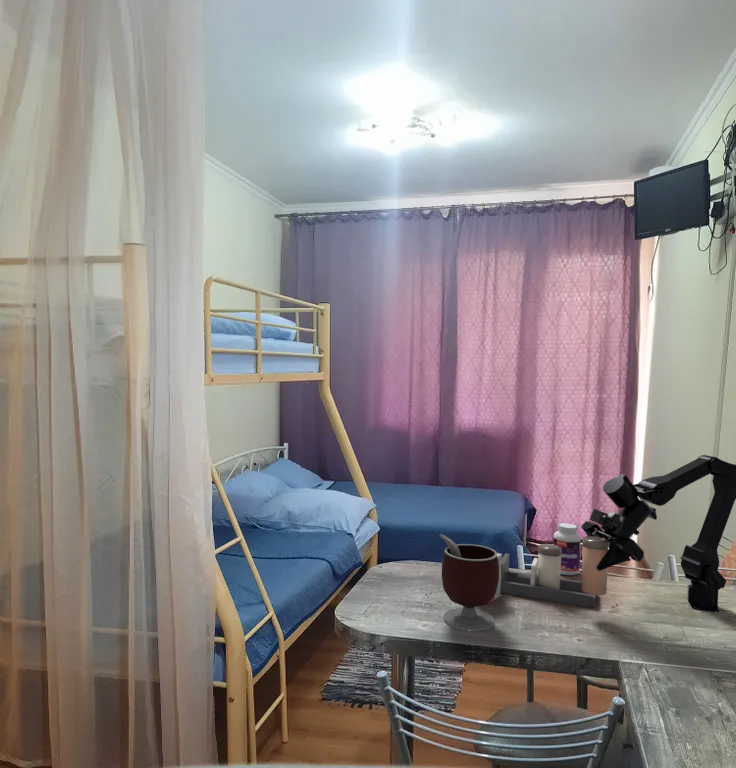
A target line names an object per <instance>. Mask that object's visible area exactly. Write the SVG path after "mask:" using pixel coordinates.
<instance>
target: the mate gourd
mask: <svg viewBox="0 0 736 768" xmlns="http://www.w3.org/2000/svg"><path fill="white" fill-rule="evenodd" d="M439 538H441V539H442V540H444V542H445V543H446V545H447V547H445V548H444V553H443V555H442V556H443V557H442V560H441V561H442V563H441V581H442V587H443V591H444V593H445V594H446V595H447V597H448V599H449V600H450V601H451V602H453V603H455V604H457V605H459V606H461V607H456V608H452V609H449V610H447V611H446V612H444V614H443V621H444V623H446V625H448V626H449V627H451V628H453V629H456V628H457V630H459V629H463V630H462V631H464V630H471V631H470V632H482V631H481V630H484V631H486V630H485V629H487V630H489V628H490V629H491V628H493V626H494V625H495V619H494V616H493V615H491V614H490V613H489V612H486V611H484V610H482V609H481V610H480V609H476V608H477V607H482V606H485V605H487V604H488V603H489V602H490V601H491V599H492V598H493V597H494V596H495V594H496V591H497V587H498V581H499V564H498V558H497V553H498V551H496V550H495V549H493V548H491V547H487V546H484V545H479V544H473V543H471V544H470V543H460V544H459V543H458V544H456V542H454V541H453V540H452V539H450V538H449V537H447V536H446V535H443V533H440V534H439ZM479 630H480V631H479Z"/></svg>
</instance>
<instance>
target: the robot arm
mask: <svg viewBox="0 0 736 768" xmlns="http://www.w3.org/2000/svg"><path fill="white" fill-rule="evenodd" d="M708 475H711V476H713V477H712V485H713V486H712V487H713V490H714V491H713V492H714V494H713V496H712V499H711V502H710V504H709V508H708V511H707V513H706V515H705V518H704V520H703V523H702V526H701V529H700V532H699V535H698V538H697V540H696V542H695V543H694V544H692V545H691V546H690V545H688V544H687V545H685V546H684V549H683V552H682V555H681V556H680V560H681V561H680V567H681V568H682V571H683V574H684V577H685V578H686V579H687V580H690V584H688V585H687V598H686V599H687V602H688V604H689V607H690V608H691V609H692V608H693V609H697V610H703V611H704V610H705V611H711V612H717V613H719V612H720V609H719V607H718V606H719V591H720V590H721V589H725V587H726V583H727V579H726V578H725V576H723V574H721V573H720V571H719V567H720V566H719V565H720V558H719V554H718V547H719V546H720V542H721V540H722V537H723V535H724V531H725V529H726V526H727V523H728V520H729V518H730V515H731V512H732V510H733V507H734V505H735V503H736V502H735V501H736V464H735V463H731V462H730V463H729V462H727V461H724V460H722V459H720V458H718V457H717V456H713V455H706V454H703V455H699V456H698V457H697V458H696V459H694V460H692V461H690V462H688V463H687V464H684V465H683V466H681V467H678V468H677V469H675V470H672V471H669V473H666V474H664V475H659V476H651V477H648V478H644V479H642V480H641V481H639V482H638V483H634V484H633V483H632V482H631V480H630V479H629V477H628V476H627V475H626V474H622V473H620V474H618V476H615V477H612V478H610V479H609V480H607V481H605V483H604V485H603V487H602V491H603V493H604V494H606V496H607V497H608V498H609V499H610V500H611V502H612V503H613V504H614V505H615V506H616V507H617V508H620V509H621V510H620V511H619V513H616V512H614V511H610V512H609V513H606V512H604V511H602V510H598V509H596V508H593V511H592V513H591V515H590V517H589V519H588V521H586V520H585V521H584V523H583V524H582V525H581V526H580V528H581V529H582V530H583V531H584V532H585V534H586V535H587V536H586V537H588V536H594V537H601V538H604V539H607V540H608V541H609V548H608V552H607V553H606V554H605V556H604V557H603V558H602V560H601V561H600V562H599V564H598V566H597V567H596V568H597V569H598V570H599V571H601V570H603V569H606V568H610V567H613V566H616V565H619V564H622V563H624V562H631V560H632V561H634V562H636V563H640V562H641V561H642V560H643V559H644V558H645V552H644V550H643V549H642V548H641V547H640V545H639V544H637V542H636V540H634V539H632V538H631V537H632V536H633V535H635V536H638V535H639V534H640V531H639V530H638V529H639V528H640V527H641V526H642V524H643V523H644V522H645V521H646V520H647V519H648V518H649V519H653V520H658V519H657V518H658V515H657V509H656V508H654V507H651V506H650V505H649V504H652V505H656V506H660V507H661V506H664V505H666V504H668V503H669V502H670V501H671V500H672V499H674V498H675V497H676V494H677V492H678V491H680V490H682V489H683V488H686V487H687V486H689V485H691V484H693V483H695V482H697V481H699V480H701V479H702V478H705V477H706V476H708ZM648 503H649V504H648ZM580 561H582V558H580Z"/></svg>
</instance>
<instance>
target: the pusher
mask: <svg viewBox="0 0 736 768" xmlns="http://www.w3.org/2000/svg"><path fill="white" fill-rule="evenodd" d="M516 572H517V577H521V578H528V579H531V583H530V585H533V586H537V575H538V558H537V557H534V558H533V560H532V563H531V565H530V571H525V570H517V571H516Z"/></svg>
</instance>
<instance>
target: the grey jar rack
mask: <svg viewBox="0 0 736 768" xmlns="http://www.w3.org/2000/svg"><path fill="white" fill-rule="evenodd" d="M517 572H518V571H513V570H510V553H504V555H502V559H501V585H500V594H507V595H513V596H517V597H523V598H524V597H525V598H532V599H537V600H543V601H550V602H556V603H561V604H567V605H568V604H569V605H575V606H580V607H581V606H582V607H587V608H592V607H593V609H594V608H596V598H597V595H592V594H588V593H585V592H583V591H582V589H581V588H582V580H580V581H579V580H573V579H566V578H561V577H560V590H559V589H553V588H546V587H540V586H533V585H530V583H531V579H528V578H521V577H517ZM537 585H538V575H537Z"/></svg>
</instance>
